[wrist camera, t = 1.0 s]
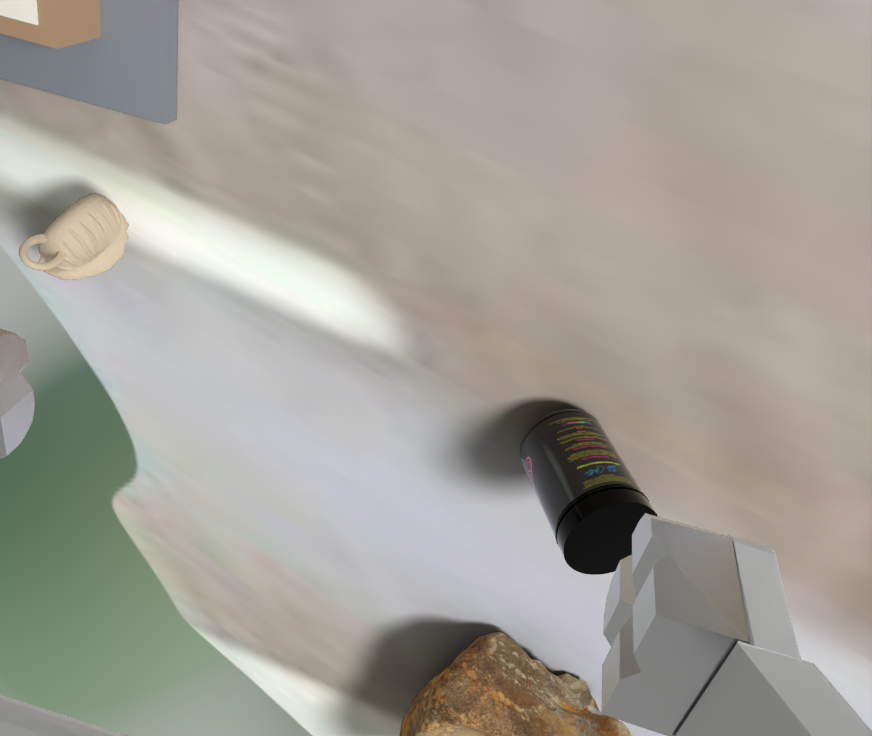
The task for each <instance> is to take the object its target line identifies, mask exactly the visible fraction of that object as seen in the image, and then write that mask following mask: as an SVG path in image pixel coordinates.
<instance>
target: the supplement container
mask: <svg viewBox="0 0 872 736" xmlns="http://www.w3.org/2000/svg"><path fill="white" fill-rule="evenodd" d="M520 459H521V462H522V464H523V467H524V469H525V471H526V473H527V475H528V478H529V480H530V482H531V484H532V486H533V489H534V491H535V493H536V495H537V497H538V500H539V502H540V504H541V506H542V508H543V511H544V513H545V515H546V517H547V520H548V522H549V524H550V526H551V528H552V531H553V533H554V535H555V539H556V542H557V544H558V546H559V547H560V549H561V552H562V554H563V556H564V558H565V560H566V562H567V564H568V565H569V566H570V567H571V568H573V569H574V570H576V571H578V572H581V573H585V574H605V573H610V572H614V571H616V569H617V566H618V564H619V562H620V560H622V559H624V558H626V557H628V556H630V555H632V534H633V532H634V530H635V528H636V526H637V524H638V522H639V520H640V519H641V518H642V517H643V516H644V515H645V513H647V514H650V515H654V516H657V514H656V512H655V511H654V509H653V508H652V506H651V504H650V503H649V500H648V499H647V497H646V496H645V494H644V493H643V492H642V491H641V489H640V487H639V486H638V484H637V483H636V481H635V479H634V478H633V476H632V475H631V473H630V471H629V470H628V468H627V466H626V465H625V463H624V462H623V460H622V458H621V457H620V455H619V453H618V452H617V450H616V449H615V447H614V445H613V444H612V442H611V441H610V439H609V437H608V436H607V434H606V432H605V431H604V429H603V428H602V426H601V424H600V423H599V421H598V420H597V419H596V418H595V417H594V416H592V415H590V414H589V413H587V412H584V411H581V410H577V409H563V410H558V411H554V412H551V413H549V414H547V415H545V416H543V417H541V418H540V419H538V420H537V421H536V422H535V423H534V424H533V425H532V426H531V427H530V428H529V429H528V430H527V432H526V433H525V435H524V437H523V439H522V442H521V446H520ZM657 517H658V516H657Z"/></svg>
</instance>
